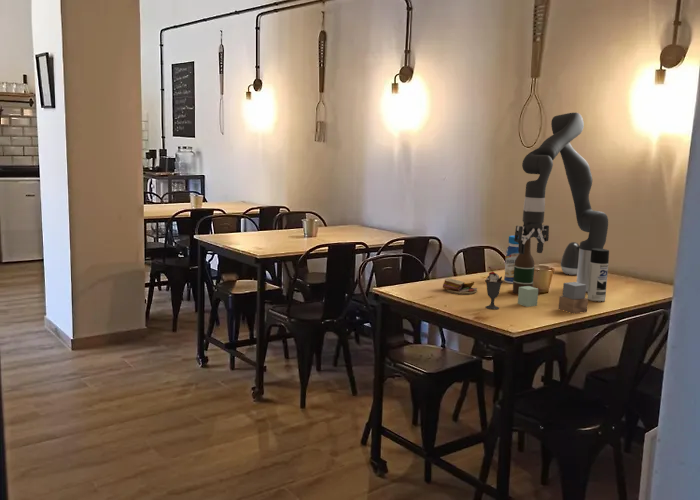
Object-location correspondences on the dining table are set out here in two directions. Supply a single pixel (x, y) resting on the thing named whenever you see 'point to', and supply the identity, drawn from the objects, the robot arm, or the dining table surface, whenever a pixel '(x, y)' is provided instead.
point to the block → (528, 296)
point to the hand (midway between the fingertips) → (530, 253)
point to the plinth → (573, 305)
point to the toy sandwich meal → (459, 287)
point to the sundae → (493, 288)
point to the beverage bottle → (511, 259)
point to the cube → (574, 290)
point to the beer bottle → (523, 269)
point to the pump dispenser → (570, 259)
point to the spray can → (598, 274)
